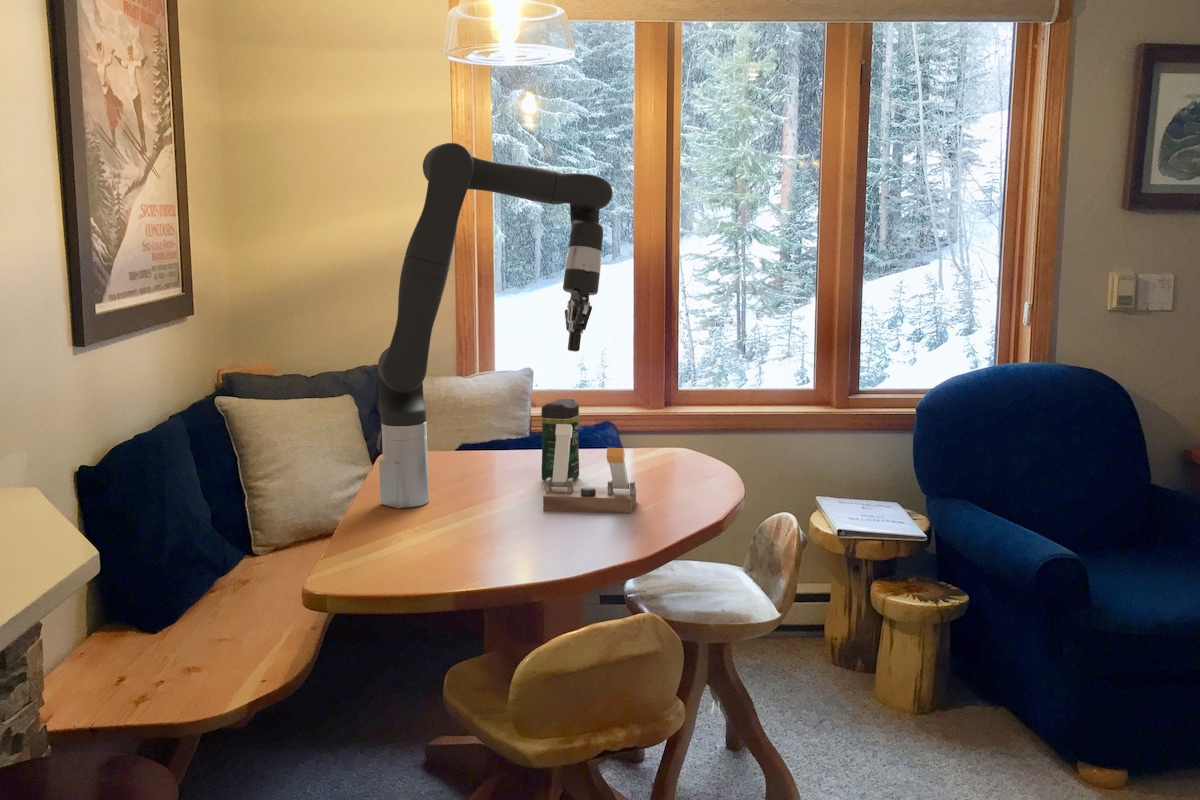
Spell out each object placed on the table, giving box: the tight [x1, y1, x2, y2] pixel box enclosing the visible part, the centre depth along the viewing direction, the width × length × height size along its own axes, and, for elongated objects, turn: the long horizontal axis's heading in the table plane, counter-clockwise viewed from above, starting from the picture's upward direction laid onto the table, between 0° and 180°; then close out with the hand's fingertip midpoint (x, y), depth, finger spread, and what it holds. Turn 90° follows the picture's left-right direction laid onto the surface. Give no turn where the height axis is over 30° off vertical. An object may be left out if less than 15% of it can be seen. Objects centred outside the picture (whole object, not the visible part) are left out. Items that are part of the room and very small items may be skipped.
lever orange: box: [606, 447, 630, 489], centre depth 211 cm, size 2×3×13 cm
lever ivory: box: [551, 424, 573, 487], centre depth 220 cm, size 2×3×13 cm, turn 81°
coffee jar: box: [540, 398, 580, 482], centre depth 239 cm, size 10×8×19 cm
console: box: [542, 478, 637, 514], centre depth 217 cm, size 9×18×6 cm, turn 81°
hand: (573, 350), depth 223 cm, fingers closed
